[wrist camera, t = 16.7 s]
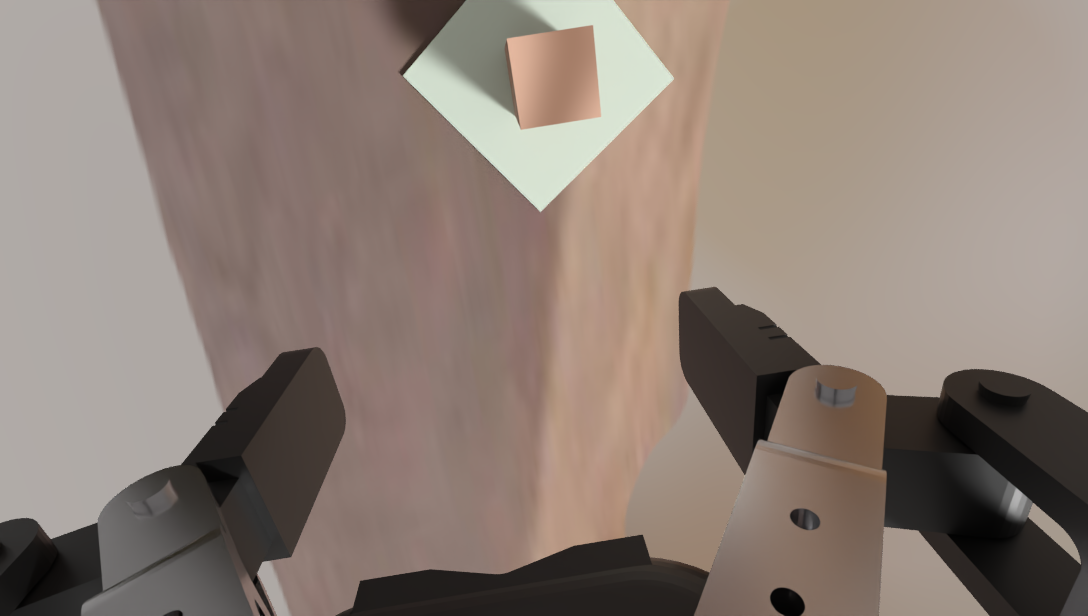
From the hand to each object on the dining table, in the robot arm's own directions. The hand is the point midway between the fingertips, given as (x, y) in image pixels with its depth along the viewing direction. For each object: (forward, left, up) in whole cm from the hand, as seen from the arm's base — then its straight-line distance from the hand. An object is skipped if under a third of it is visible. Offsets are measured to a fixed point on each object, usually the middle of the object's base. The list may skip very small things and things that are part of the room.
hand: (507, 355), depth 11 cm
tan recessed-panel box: (-2, +6, -28) cm, 28 cm away
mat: (-2, +6, -28) cm, 29 cm away
